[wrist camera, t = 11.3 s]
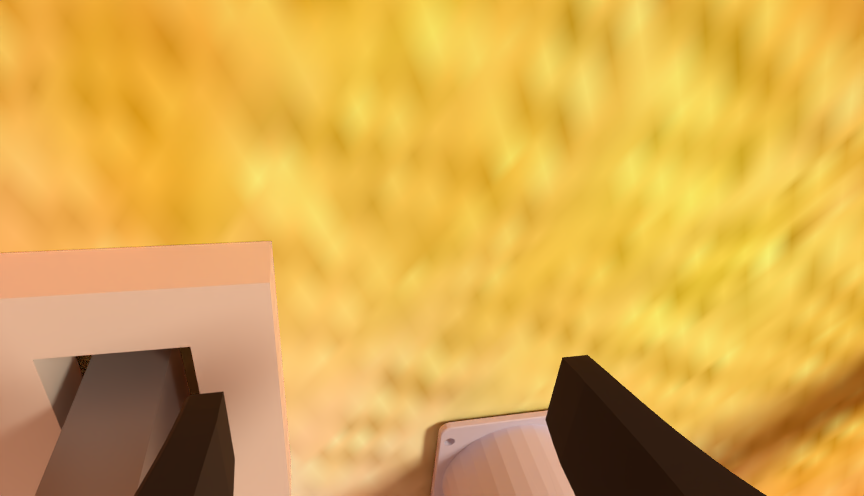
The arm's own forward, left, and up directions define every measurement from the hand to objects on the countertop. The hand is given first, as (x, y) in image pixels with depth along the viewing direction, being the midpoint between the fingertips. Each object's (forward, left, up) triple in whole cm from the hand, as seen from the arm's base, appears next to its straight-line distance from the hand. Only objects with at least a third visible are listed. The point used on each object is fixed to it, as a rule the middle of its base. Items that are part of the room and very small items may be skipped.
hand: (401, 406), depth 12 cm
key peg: (-8, +8, -9) cm, 15 cm away
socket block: (-8, +8, -9) cm, 14 cm away
